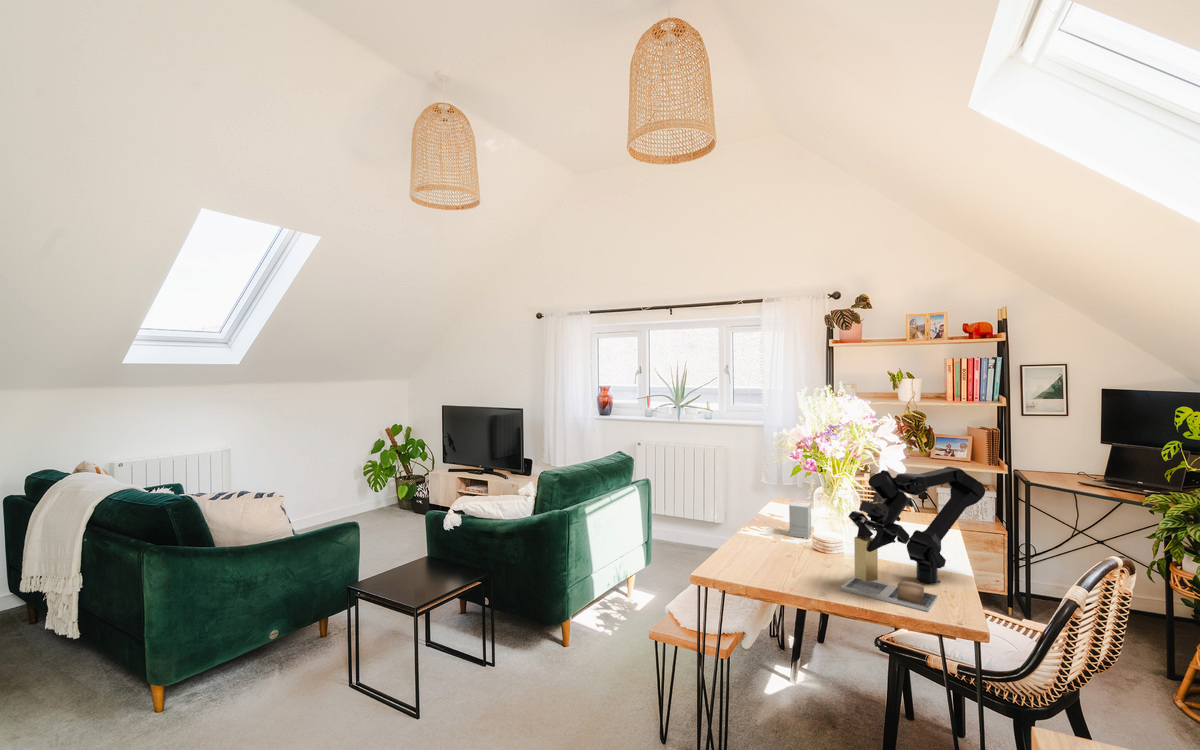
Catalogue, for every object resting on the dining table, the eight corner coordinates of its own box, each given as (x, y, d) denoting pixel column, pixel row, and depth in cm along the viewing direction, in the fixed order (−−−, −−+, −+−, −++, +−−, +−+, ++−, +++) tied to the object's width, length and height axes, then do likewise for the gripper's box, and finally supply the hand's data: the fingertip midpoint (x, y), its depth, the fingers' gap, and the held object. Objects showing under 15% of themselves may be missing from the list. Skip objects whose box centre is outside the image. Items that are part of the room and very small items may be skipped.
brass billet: (866, 574, 172) (866, 535, 172) (877, 579, 168) (877, 539, 168) (854, 576, 171) (854, 537, 171) (865, 581, 167) (865, 541, 167)
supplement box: (811, 534, 230) (811, 503, 230) (808, 539, 224) (808, 507, 223) (792, 531, 234) (792, 501, 234) (788, 536, 227) (788, 504, 227)
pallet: (853, 582, 177) (853, 576, 177) (937, 602, 162) (937, 595, 162) (840, 593, 169) (840, 586, 169) (928, 615, 154) (928, 608, 154)
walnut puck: (900, 593, 166) (900, 579, 166) (926, 599, 162) (926, 585, 162) (894, 600, 161) (894, 586, 161) (920, 606, 157) (920, 592, 157)
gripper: (853, 485, 179) (824, 523, 176) (901, 497, 162) (870, 540, 158) (873, 507, 182) (845, 546, 178) (922, 522, 164) (893, 565, 161)
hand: (862, 548), depth 169 cm, fingers closed on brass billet, 4 cm apart
